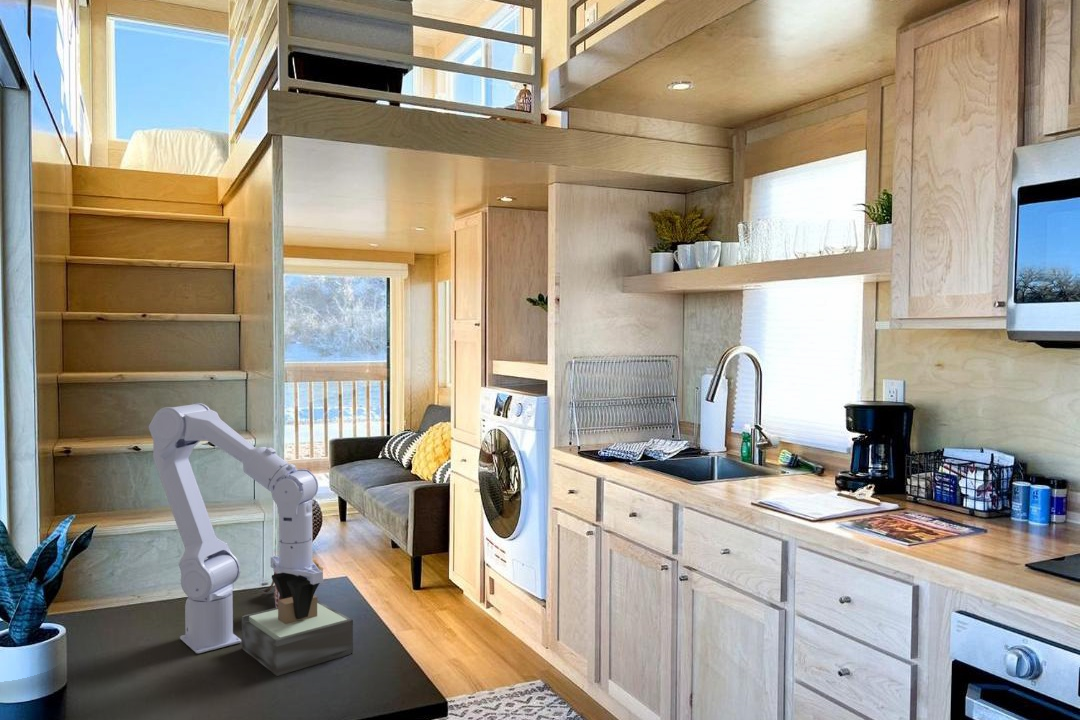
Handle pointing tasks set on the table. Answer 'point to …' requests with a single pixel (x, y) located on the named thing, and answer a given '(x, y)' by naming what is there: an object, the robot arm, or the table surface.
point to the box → (297, 645)
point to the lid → (293, 619)
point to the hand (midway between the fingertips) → (296, 614)
